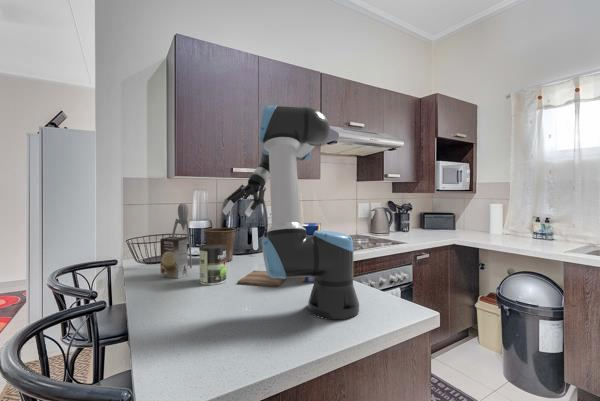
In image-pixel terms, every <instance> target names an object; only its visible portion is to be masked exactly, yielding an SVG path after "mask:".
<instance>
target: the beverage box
mask: <svg viewBox="0 0 600 401" xmlns="http://www.w3.org/2000/svg"><path fill="white" fill-rule="evenodd" d="M301 225H302V226H303V227H304V228H305V229H306V235H307V236H314V235H313V234H314V232H315V231H322V224H321V222H304V223H302V224H301ZM300 279H301V280H300V281H305V282H304V283H314V276H311V277H300Z"/></svg>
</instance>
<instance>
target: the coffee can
mask: <svg viewBox="0 0 600 401" xmlns="http://www.w3.org/2000/svg"><path fill="white" fill-rule="evenodd" d="M198 249H199V283H200V284H201V285H204V286H215V285H221V284H224V283H225V282H226V281H227V262H226V245H224V244H202V245H200V246H198Z"/></svg>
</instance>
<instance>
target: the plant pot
mask: <svg viewBox="0 0 600 401" xmlns="http://www.w3.org/2000/svg"><path fill="white" fill-rule="evenodd" d="M236 231H237V228H234V227H212V228H210V227H209V228H204V229H203V232H204V237H205V242H206V243H205V245H207V244H224V245H226V263H227V262H231V261H233V254H234V243H235V237H236V233H237V232H236Z"/></svg>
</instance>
